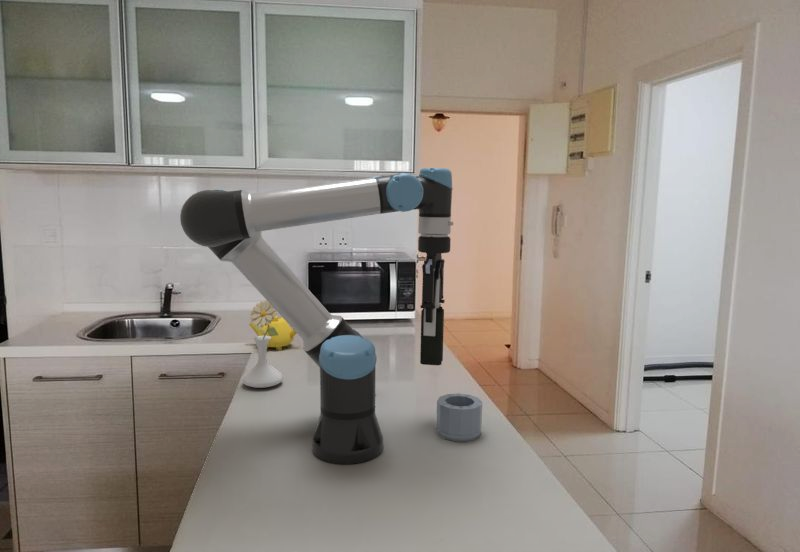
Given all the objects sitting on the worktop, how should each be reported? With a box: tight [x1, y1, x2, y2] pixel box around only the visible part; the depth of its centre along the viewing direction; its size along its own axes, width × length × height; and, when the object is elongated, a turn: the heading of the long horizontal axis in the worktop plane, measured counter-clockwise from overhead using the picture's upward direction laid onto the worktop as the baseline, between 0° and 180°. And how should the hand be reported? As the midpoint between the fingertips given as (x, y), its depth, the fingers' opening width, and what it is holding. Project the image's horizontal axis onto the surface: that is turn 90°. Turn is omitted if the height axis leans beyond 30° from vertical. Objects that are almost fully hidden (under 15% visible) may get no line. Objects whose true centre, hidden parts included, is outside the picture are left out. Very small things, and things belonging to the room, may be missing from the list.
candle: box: [419, 275, 445, 366], centre depth 134 cm, size 5×5×25 cm
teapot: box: [248, 315, 298, 351], centre depth 201 cm, size 20×18×11 cm
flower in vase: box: [242, 299, 284, 389], centre depth 159 cm, size 13×11×25 cm
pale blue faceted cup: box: [436, 392, 483, 443], centre depth 129 cm, size 10×10×8 cm
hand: (432, 332), depth 134 cm, fingers closed on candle, 5 cm apart
